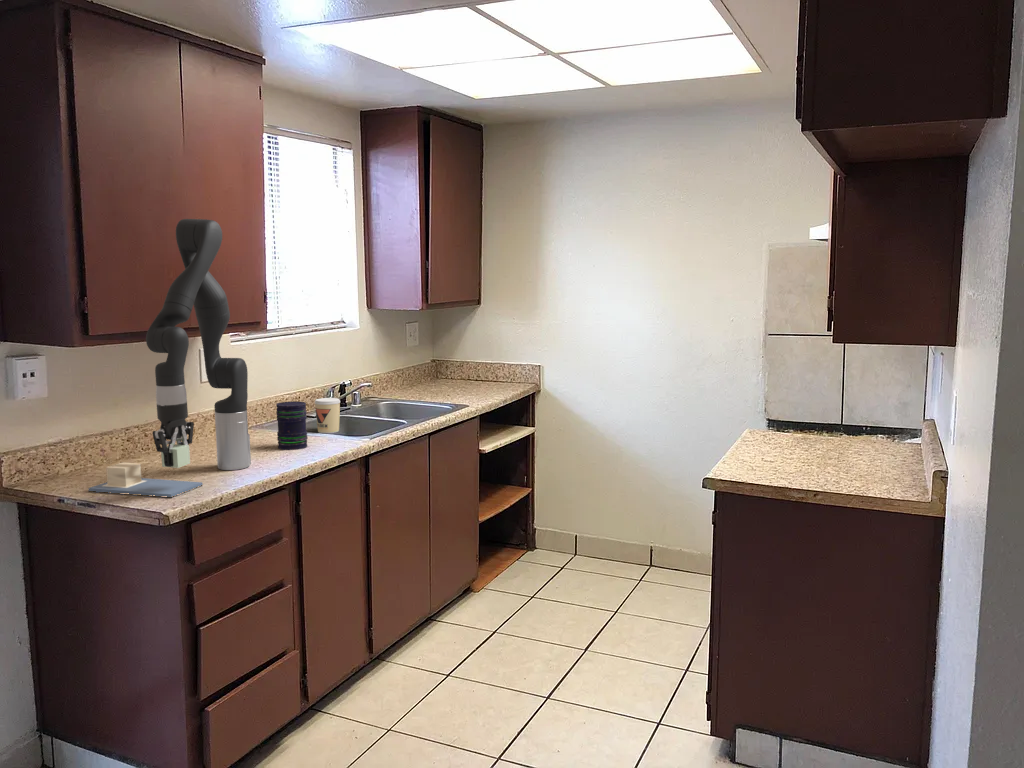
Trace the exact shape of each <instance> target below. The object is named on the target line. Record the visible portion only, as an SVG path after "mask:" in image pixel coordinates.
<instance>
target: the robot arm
mask: <svg viewBox="0 0 1024 768" xmlns="http://www.w3.org/2000/svg"><path fill="white" fill-rule="evenodd" d="M175 240H176V244H177V247H178V250H179V254H180V257H181V259H182V263H183V266H184V270H183V271H182V272H181V273H180V274H179V275H178V276H177V277H176V278H175V279H174V280H173V281H172V283H171V285H170V286H169V288H168V291H167V294H166V297H165V300H164V302H163V306H162V308H161V310H160V311H159V313H158V314H157V315H156V317H155V318H154V320H153V321H152V323H151V324H150V325H149V328H148V330H147V331H146V336H145V342H146V346H147V348H148V349H149V350H150V351H151V352H153V353H155V354H167V357H166V361H163V362H162V361H161V362H160V363H157V364H156V365H155V368H154V371H155V372H154V375H155V385H156V386H155V389H156V390H155V400H156V401H155V403H156V404H155V405H156V412H157V413H156V415H157V420H158V421H160V427H159V429H158V430H153V431H152V433H151V434H152V437H153V440H154V441H153V442H154V445H155V449H156V452H158V453H161V452H163V454H164V464H165V466H167V467H166V468H172V467H171V466H173V453H172V449H173V445H174V444H176V445H189V446H190V445H191V444H193V437H194V425H195V424H194V422H193V421H186V419H188V417H189V413H188V411H189V410H188V396H187V388H186V384H185V383H186V381H185V370H184V369H185V364H186V360H187V359H186V358H187V355H188V350H189V344H190V343H189V340H190V339H189V336H188V334H187V332H186V330H185V329H183V328H182V327H180V326H178V325H179V324H182V323H185V322H187V321H188V320H189V319H190V316H191V313H192V310H193V308H194V313H195V317H196V320H197V324H198V329H199V334H200V338H201V344H202V348H203V349H202V350H203V351H202V352H203V358H204V368H205V375H206V379H207V382H208V384H209V386H210V387H211V388H213V389H220V390H221V389H222V390H223V389H224V390H225V389H226V390H227V389H228V390H229V389H231V391H230V395H228V396H227V397H226V398H224V399H220V400H218V401H216V402H215V403H214V423H215V441H216V442H215V444H216V459H217V460H216V463H217V469H218V470H222V471H234V470H237V471H238V470H242V469H246V468H249V467H250V465H251V464H252V459H251V458H252V456H251V455H252V453H251V436H250V434H249V424H248V423H249V421H248V397H249V396H248V381H249V380H248V376H249V375H248V374H249V373H248V367H247V363H246V361H245V360H244V359H243V358H240V357H222V356H221V353H220V342H221V339H222V338H223V335H224V333H225V331H226V329H227V327H228V324H229V322H230V319H231V313H230V306H229V301H228V297H227V293H226V292H225V290H224V289H223V287H222V286H221V285H220V283H219V282H218V281H217V279H215V277H214V275H212V273H211V272H210V271H209V270H210V268H211V266H212V264H213V262H214V261H215V259H216V258H217V257H216V256H217V255H218V254H219V253H218V252H219V251H220V249H221V246H222V242H223V230H222V228H221V226H220V224H219V222H217V221H215V220H213V219H206V218H205V219H203V218H202V219H201V218H184V219H180V220H179V221H178V223H177V224H176V227H175ZM167 446H168V448H167Z"/></svg>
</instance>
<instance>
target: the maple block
mask: <svg viewBox="0 0 1024 768" xmlns="http://www.w3.org/2000/svg"><path fill="white" fill-rule="evenodd" d="M141 465H142V464H141V463H135V462H119V463H116V464H113V465H110V466H109V465H108V466H106V467H105V468H106V480H107V484H108V485H111V486H124V487H126V486H129V485H132V484H135V483H138V482H141V481H142V480H141V478H142V467H141Z"/></svg>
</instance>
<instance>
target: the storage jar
mask: <svg viewBox="0 0 1024 768" xmlns="http://www.w3.org/2000/svg"><path fill="white" fill-rule="evenodd" d="M275 404H276V406H275V407H276V412H275V413H276V421H277V441H278V442H277V444H278V446H277V448H279V449H278V450H281V449H282V451H283V450H284V451H295V450H298V451H299V450H303V449H305V448H307V447H308V430H307V416H308V415H307V414H308V413H307V412H308V411H307V407H306V406H307V403H306V402H305V401H298V400H297V401H296V400H295V401H291V400H290V401H282V402H278V403H275Z"/></svg>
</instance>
